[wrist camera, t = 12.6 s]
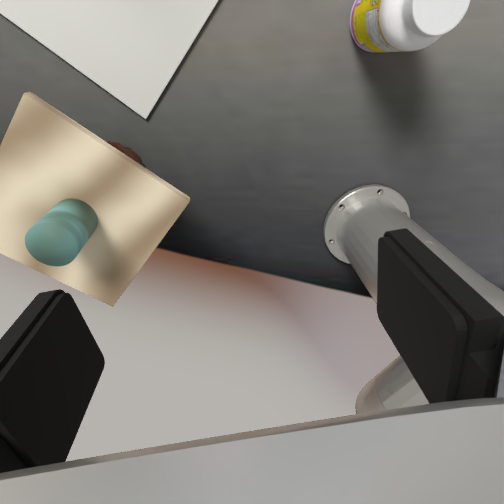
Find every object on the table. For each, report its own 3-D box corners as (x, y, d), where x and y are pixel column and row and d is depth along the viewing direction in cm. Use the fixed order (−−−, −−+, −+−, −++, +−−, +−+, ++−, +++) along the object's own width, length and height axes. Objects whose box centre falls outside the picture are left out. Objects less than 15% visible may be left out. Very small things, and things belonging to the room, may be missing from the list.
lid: (190, 197, 30) (184, 226, 25) (115, 300, 35) (97, 342, 30) (30, 91, 25) (-18, 100, 20) (-32, 229, 30) (-84, 265, 25)
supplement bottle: (400, -33, 35) (483, -75, 24) (411, 36, 39) (489, 27, 28) (340, -2, 36) (393, -29, 25) (355, 63, 40) (409, 64, 28)
